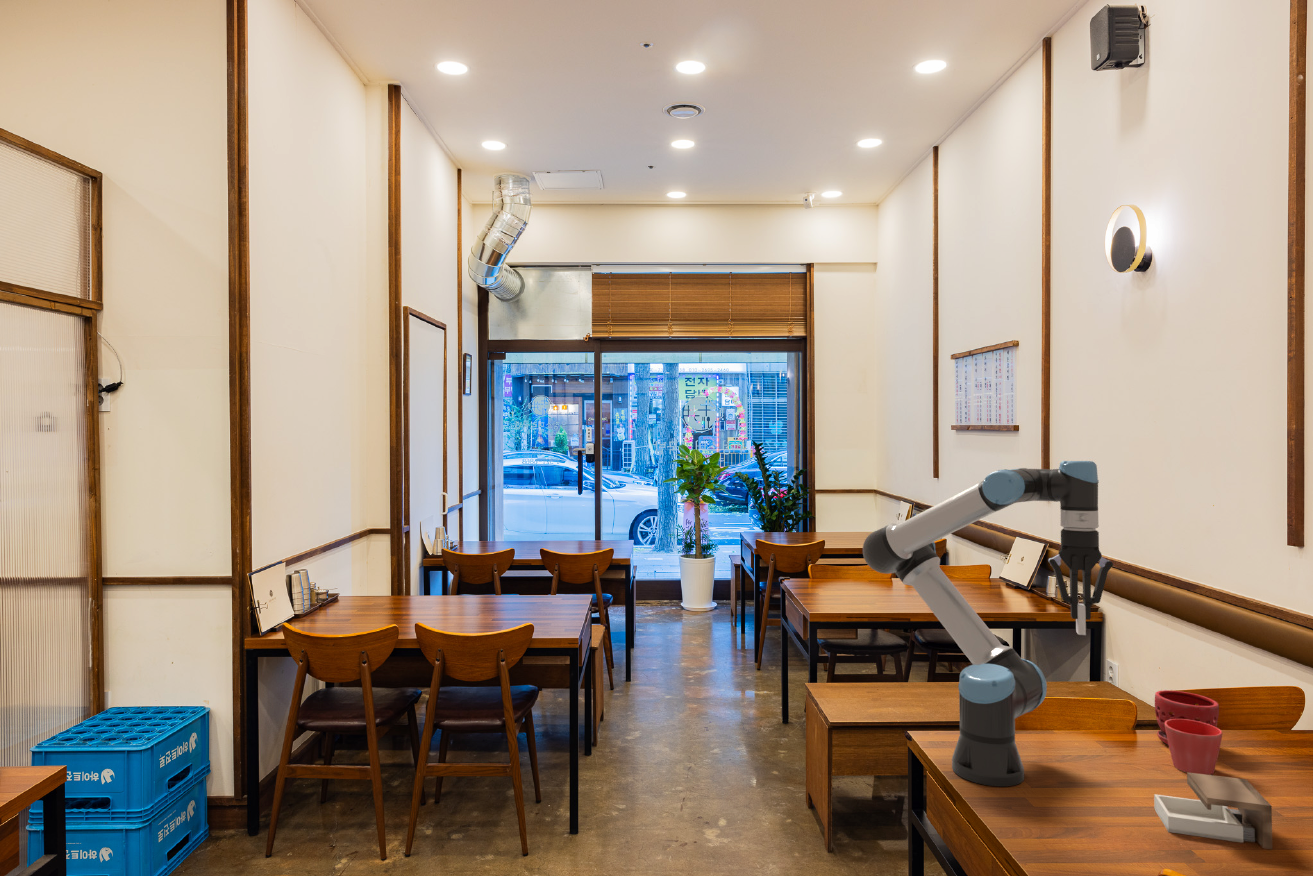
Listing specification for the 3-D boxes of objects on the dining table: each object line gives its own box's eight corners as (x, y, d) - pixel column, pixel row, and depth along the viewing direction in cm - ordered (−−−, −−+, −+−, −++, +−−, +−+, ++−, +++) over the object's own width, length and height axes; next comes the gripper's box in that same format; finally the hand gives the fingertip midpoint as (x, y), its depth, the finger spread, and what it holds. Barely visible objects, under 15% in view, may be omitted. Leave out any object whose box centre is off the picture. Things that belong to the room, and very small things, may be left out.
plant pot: (1203, 760, 180) (1202, 709, 181) (1144, 741, 192) (1144, 694, 192) (1229, 749, 187) (1229, 700, 187) (1171, 732, 198) (1171, 685, 199)
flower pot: (1225, 782, 168) (1224, 738, 168) (1166, 772, 174) (1165, 729, 174) (1220, 765, 177) (1220, 724, 177) (1164, 756, 183) (1163, 715, 183)
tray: (1168, 831, 146) (1168, 816, 146) (1154, 809, 156) (1154, 794, 156) (1243, 842, 142) (1243, 826, 142) (1224, 818, 152) (1224, 803, 152)
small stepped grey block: (1242, 840, 143) (1241, 827, 143) (1226, 821, 151) (1226, 808, 151) (1254, 842, 142) (1254, 829, 142) (1238, 822, 150) (1238, 810, 150)
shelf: (1208, 840, 143) (1207, 797, 143) (1187, 811, 154) (1186, 772, 155) (1272, 849, 140) (1271, 805, 140) (1246, 819, 151) (1245, 779, 151)
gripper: (1049, 529, 170) (1051, 635, 170) (1116, 531, 166) (1117, 639, 165) (1045, 526, 177) (1046, 627, 177) (1108, 528, 173) (1110, 632, 172)
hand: (1080, 633), depth 171 cm, fingers closed
